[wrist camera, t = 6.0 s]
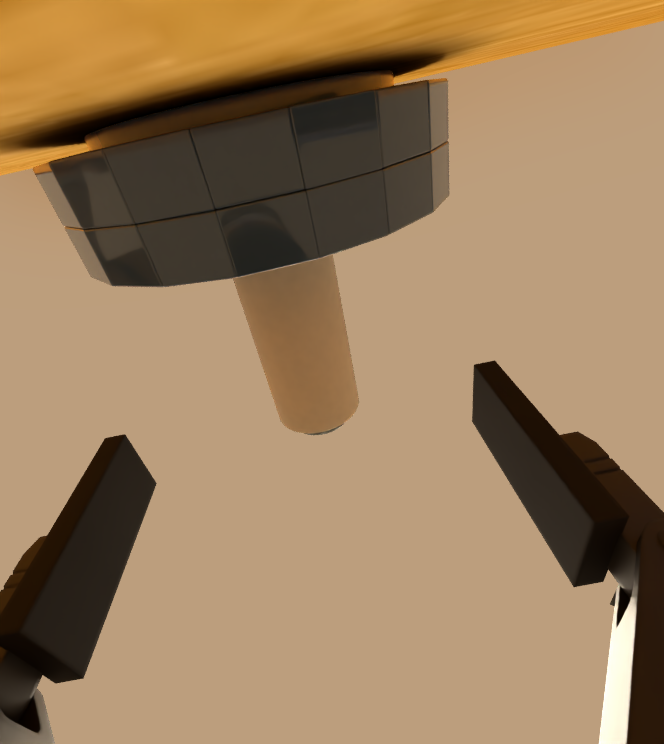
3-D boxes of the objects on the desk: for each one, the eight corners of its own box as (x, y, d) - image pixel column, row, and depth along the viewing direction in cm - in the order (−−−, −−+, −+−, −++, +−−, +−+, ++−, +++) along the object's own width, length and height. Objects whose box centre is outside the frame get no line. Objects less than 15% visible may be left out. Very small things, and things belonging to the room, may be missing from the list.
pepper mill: (194, 136, 18) (284, 412, 28) (175, 137, 14) (288, 464, 23) (300, 113, 19) (353, 395, 28) (313, 107, 14) (371, 443, 24)
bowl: (111, 144, 22) (145, 223, 25) (-112, 160, 9) (10, 330, 11) (379, 86, 23) (386, 169, 26) (551, 19, 10) (532, 209, 12)
